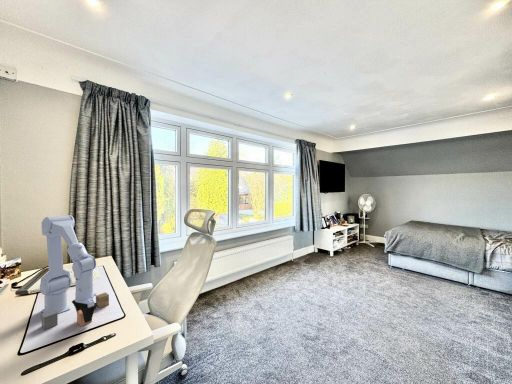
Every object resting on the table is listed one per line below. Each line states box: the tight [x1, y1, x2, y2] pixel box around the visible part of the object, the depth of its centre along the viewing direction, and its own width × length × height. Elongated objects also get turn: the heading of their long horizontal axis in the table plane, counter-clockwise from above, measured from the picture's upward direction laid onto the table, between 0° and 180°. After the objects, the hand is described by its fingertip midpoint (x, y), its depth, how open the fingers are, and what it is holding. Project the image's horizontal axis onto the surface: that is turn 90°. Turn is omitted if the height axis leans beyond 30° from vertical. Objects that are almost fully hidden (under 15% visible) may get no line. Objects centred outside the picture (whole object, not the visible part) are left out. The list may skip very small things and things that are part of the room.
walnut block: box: [95, 292, 110, 309], centre depth 106 cm, size 4×4×5 cm
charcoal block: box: [41, 310, 59, 331], centre depth 90 cm, size 4×4×5 cm
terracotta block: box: [76, 310, 93, 327], centre depth 92 cm, size 4×4×5 cm
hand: (84, 318), depth 92 cm, fingers open, 7 cm apart
